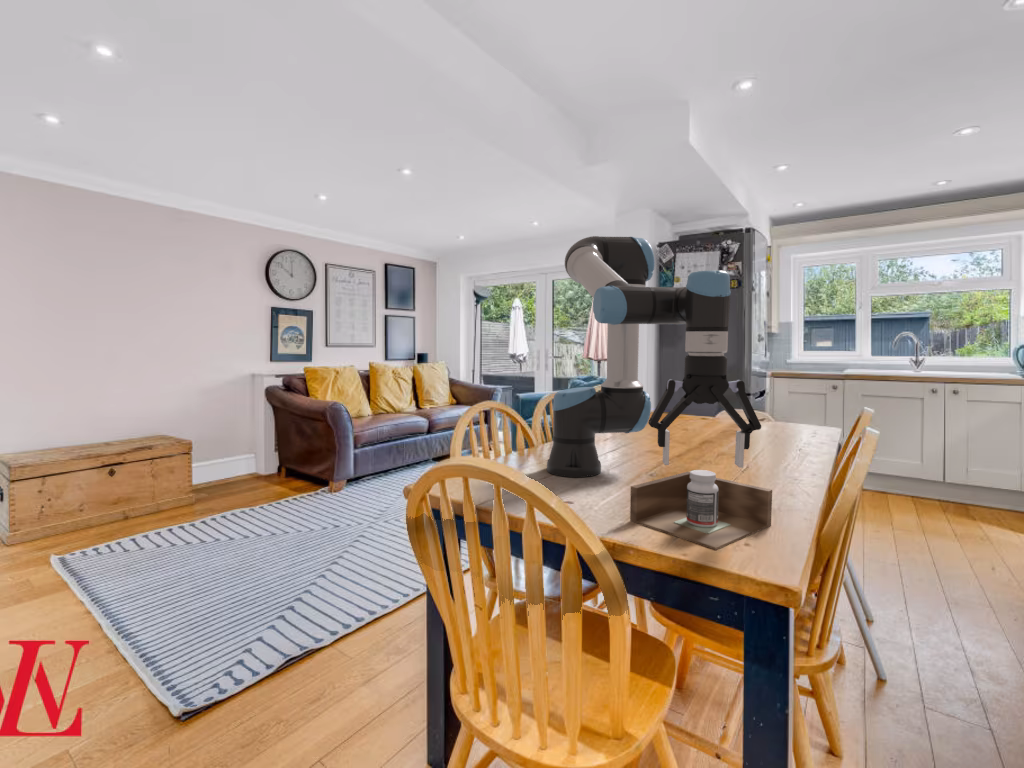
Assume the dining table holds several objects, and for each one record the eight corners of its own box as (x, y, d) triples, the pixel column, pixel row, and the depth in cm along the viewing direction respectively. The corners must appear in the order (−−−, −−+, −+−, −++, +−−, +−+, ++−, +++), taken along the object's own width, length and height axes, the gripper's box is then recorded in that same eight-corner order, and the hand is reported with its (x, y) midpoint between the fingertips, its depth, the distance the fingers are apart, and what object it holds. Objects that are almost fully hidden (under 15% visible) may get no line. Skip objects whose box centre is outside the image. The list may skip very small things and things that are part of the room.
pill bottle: (696, 516, 102) (697, 467, 101) (723, 523, 97) (724, 472, 96) (680, 522, 98) (681, 472, 97) (707, 530, 94) (709, 477, 93)
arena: (630, 520, 101) (630, 486, 100) (687, 502, 113) (687, 471, 112) (716, 549, 86) (717, 509, 86) (771, 525, 98) (772, 489, 97)
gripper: (640, 354, 93) (638, 467, 95) (783, 355, 90) (778, 471, 92) (636, 353, 101) (633, 457, 103) (768, 354, 97) (763, 461, 99)
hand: (701, 464), depth 97 cm, fingers open, 13 cm apart
